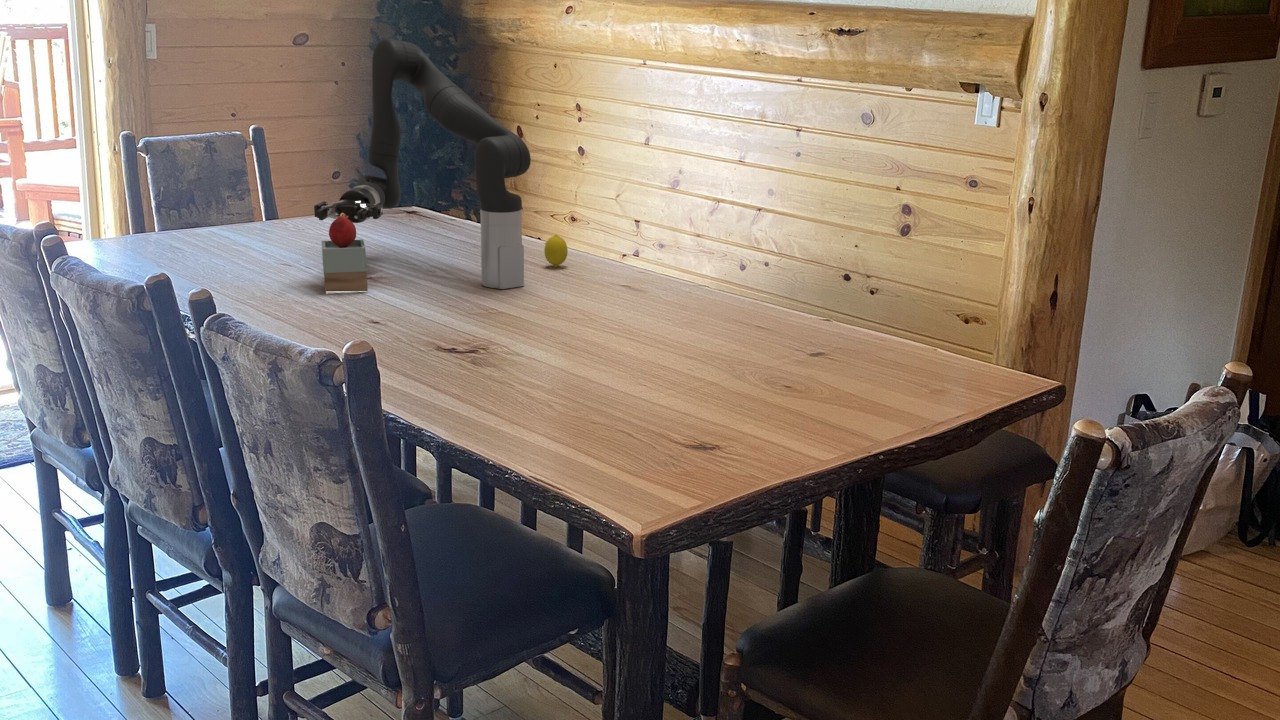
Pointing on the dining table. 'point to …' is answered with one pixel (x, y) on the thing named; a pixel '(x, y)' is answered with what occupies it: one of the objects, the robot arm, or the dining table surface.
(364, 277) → the tower base
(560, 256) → the lemon
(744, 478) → the dining table surface
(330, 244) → the tower top
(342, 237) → the onion
